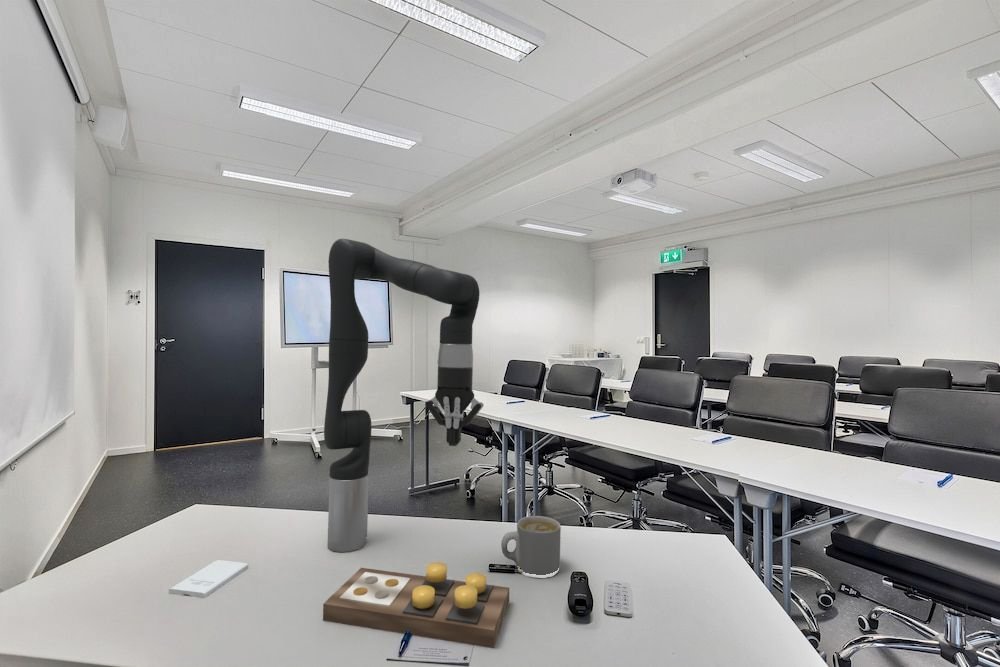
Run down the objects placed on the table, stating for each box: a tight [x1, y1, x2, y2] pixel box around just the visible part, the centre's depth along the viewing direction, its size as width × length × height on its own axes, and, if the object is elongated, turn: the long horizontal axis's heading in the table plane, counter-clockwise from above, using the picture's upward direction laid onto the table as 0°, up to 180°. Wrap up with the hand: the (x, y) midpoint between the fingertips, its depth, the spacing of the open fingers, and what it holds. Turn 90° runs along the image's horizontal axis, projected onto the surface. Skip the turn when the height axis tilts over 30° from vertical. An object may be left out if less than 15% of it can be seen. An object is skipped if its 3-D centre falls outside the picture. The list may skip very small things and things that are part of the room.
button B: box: [412, 585, 435, 608], centre depth 86 cm, size 4×4×2 cm
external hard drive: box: [168, 559, 249, 599], centre depth 100 cm, size 2×8×12 cm
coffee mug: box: [500, 515, 562, 575], centre depth 108 cm, size 13×10×10 cm
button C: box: [464, 572, 487, 594], centre depth 91 cm, size 4×4×2 cm
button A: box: [425, 561, 448, 582], centre depth 93 cm, size 4×4×2 cm
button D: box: [455, 585, 477, 609], centre depth 85 cm, size 4×4×2 cm
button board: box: [322, 567, 510, 649], centre depth 90 cm, size 14×32×4 cm, turn 78°
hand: (453, 445), depth 102 cm, fingers closed
